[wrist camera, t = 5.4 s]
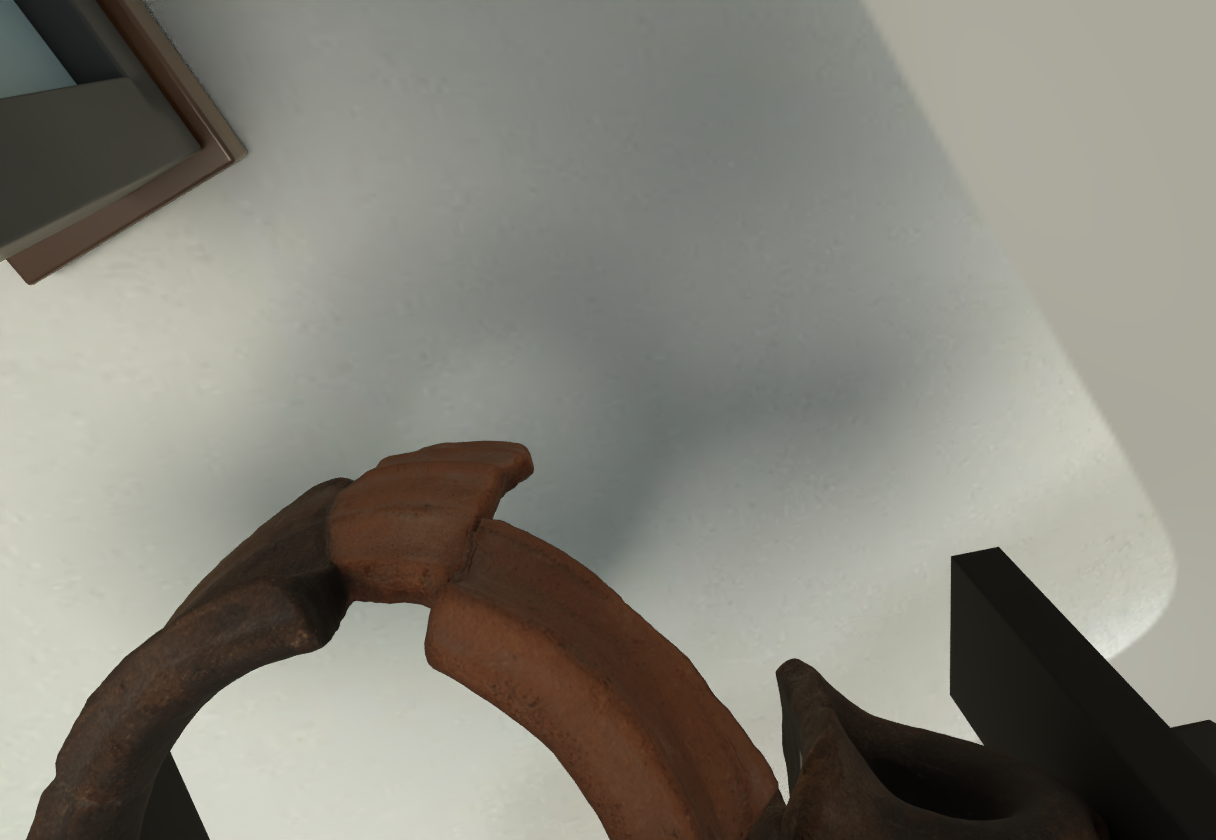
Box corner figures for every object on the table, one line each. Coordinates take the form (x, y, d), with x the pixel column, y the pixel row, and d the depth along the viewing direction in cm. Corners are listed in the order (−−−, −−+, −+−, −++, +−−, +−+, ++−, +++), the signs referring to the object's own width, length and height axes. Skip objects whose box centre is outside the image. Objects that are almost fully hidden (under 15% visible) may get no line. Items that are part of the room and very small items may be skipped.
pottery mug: (368, 975, 17) (-14, 1453, 9) (309, 466, 18) (-115, 506, 10) (1067, 972, 15) (1364, 1624, 7) (984, 378, 15) (1177, 330, 7)
